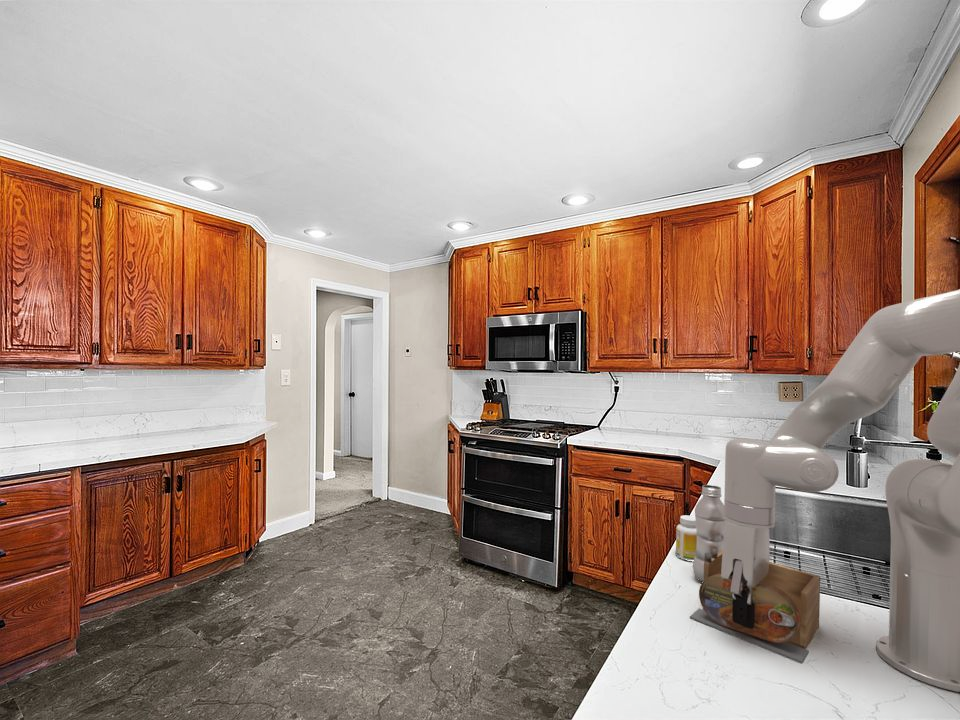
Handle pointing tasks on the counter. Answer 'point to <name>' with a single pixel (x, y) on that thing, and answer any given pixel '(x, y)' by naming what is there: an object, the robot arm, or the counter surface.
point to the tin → (771, 609)
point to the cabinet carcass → (793, 583)
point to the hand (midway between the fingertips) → (746, 620)
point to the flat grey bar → (755, 639)
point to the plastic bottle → (708, 526)
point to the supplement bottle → (686, 537)
